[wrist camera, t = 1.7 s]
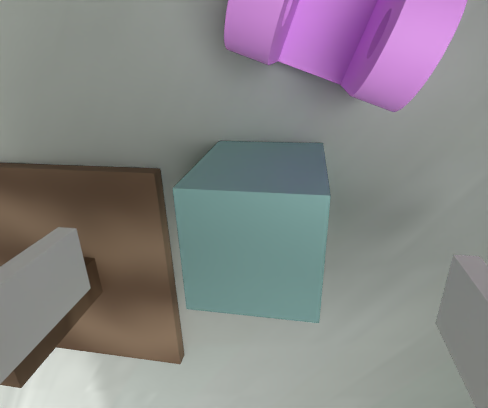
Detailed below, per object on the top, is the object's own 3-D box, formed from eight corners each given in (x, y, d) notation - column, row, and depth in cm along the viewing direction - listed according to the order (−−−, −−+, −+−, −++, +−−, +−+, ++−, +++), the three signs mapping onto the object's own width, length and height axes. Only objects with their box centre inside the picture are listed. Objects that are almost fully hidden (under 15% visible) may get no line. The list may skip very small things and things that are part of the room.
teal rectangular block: (218, 141, 17) (172, 188, 12) (322, 143, 17) (330, 195, 11) (223, 230, 20) (186, 308, 14) (316, 236, 19) (319, 323, 13)
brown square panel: (-27, 161, 21) (-199, 219, 14) (160, 168, 19) (70, 240, 12) (36, 335, 26) (-62, 438, 19) (184, 354, 24) (133, 477, 17)
